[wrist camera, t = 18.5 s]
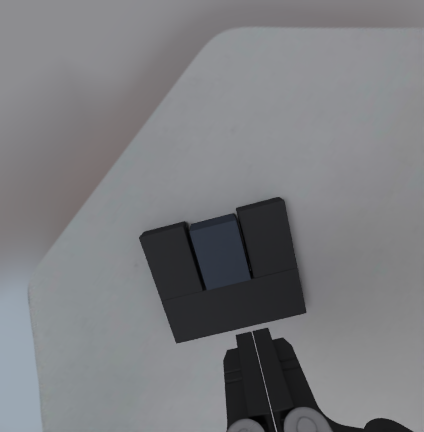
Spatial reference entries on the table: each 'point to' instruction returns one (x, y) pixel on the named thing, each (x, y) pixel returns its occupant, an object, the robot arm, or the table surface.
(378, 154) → the table surface
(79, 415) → the table surface
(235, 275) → the small block
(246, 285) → the black notched square slab
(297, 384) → the robot arm
